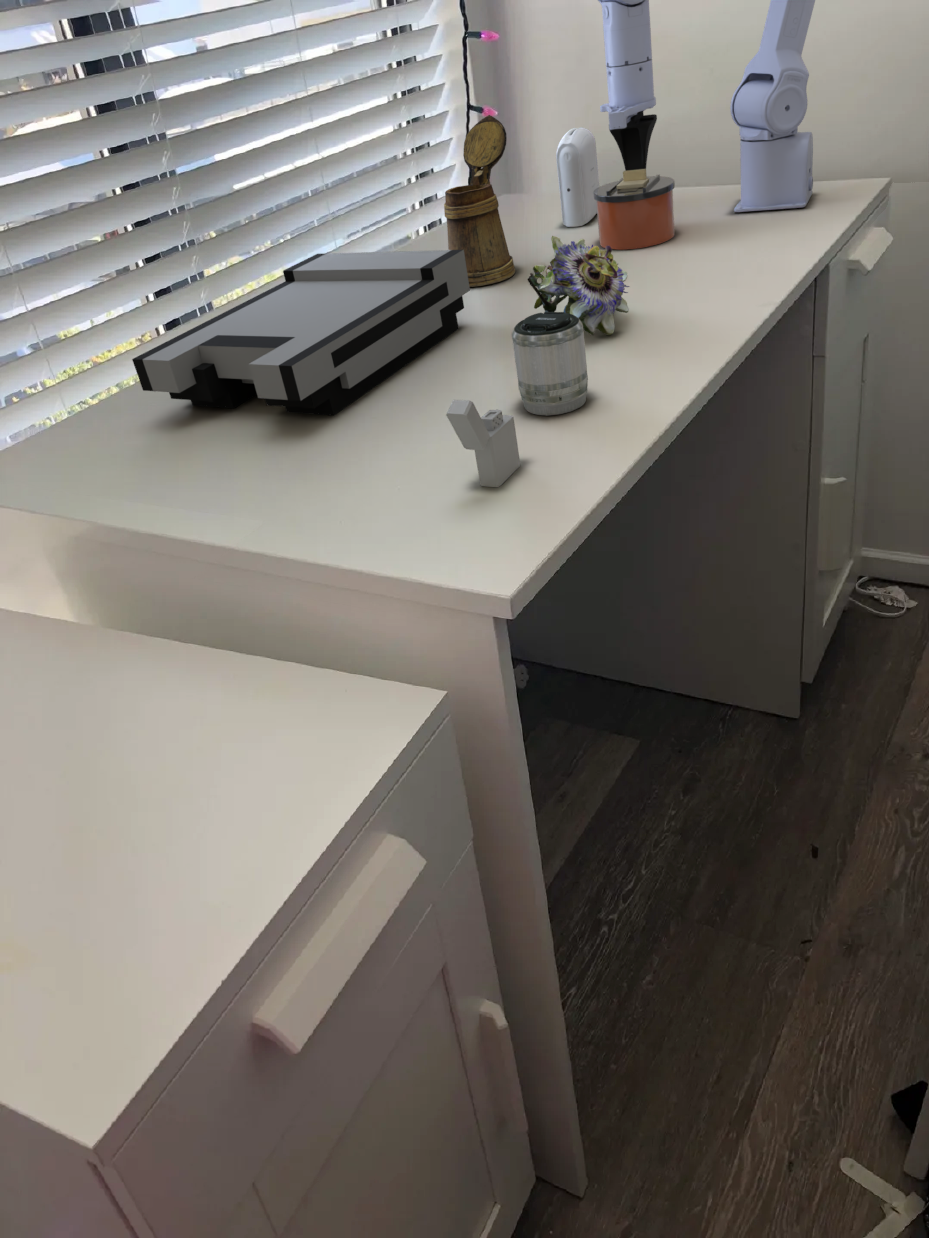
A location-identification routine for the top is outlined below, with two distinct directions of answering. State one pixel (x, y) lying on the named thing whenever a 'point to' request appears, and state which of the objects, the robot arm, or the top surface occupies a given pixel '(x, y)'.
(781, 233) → the top surface
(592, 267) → the passion flower
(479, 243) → the wooden mug
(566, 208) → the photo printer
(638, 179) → the slider
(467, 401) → the lighter
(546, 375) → the camera lens
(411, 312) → the game console
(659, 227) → the orange lidded canister
